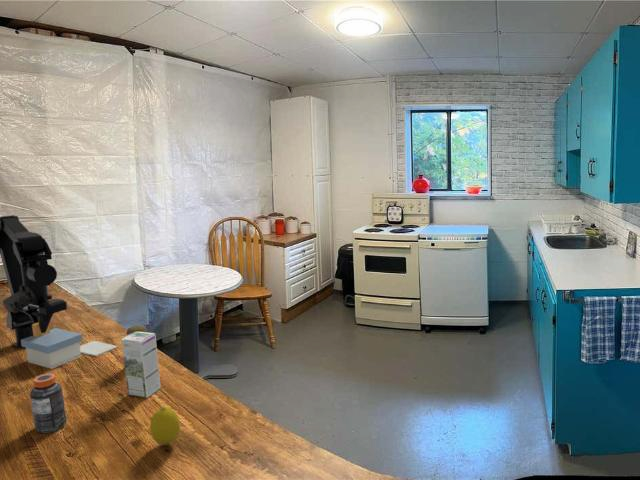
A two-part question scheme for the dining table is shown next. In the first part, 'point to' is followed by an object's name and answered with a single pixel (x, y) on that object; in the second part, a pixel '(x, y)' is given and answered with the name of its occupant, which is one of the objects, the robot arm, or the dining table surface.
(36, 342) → the lid
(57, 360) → the parts tub
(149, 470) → the dining table surface
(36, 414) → the pill bottle
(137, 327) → the cork
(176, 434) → the lemon
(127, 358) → the syrup box
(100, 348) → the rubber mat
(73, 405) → the dining table surface
